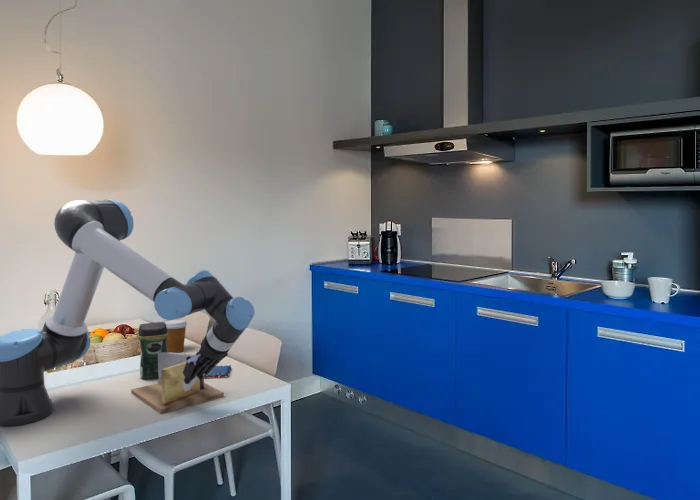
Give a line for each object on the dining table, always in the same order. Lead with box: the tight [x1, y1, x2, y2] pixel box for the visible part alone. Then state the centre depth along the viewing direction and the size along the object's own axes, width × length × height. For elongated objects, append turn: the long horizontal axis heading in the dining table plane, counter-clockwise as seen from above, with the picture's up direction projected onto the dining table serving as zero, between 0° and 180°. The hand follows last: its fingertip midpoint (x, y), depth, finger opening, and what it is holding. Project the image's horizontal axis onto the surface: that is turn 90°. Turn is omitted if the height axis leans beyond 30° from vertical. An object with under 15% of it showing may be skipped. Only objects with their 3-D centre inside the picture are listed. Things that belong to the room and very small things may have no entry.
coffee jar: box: [137, 321, 168, 380], centre depth 190 cm, size 10×8×19 cm
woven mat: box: [204, 364, 232, 380], centre depth 193 cm, size 10×11×2 cm
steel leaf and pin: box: [158, 349, 205, 390], centre depth 177 cm, size 16×3×14 cm, turn 77°
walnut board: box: [130, 382, 225, 414], centre depth 173 cm, size 20×22×1 cm
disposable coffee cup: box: [162, 318, 188, 353], centre depth 221 cm, size 10×10×12 cm
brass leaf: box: [161, 361, 200, 404], centre depth 167 cm, size 13×1×10 cm, turn 147°
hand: (185, 386), depth 164 cm, fingers closed
